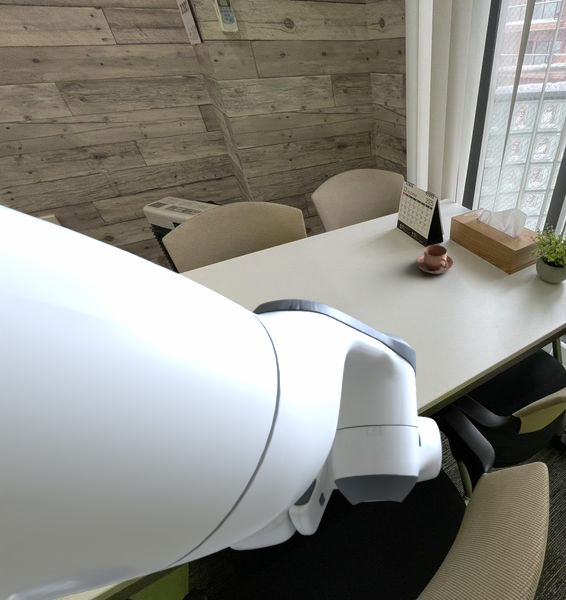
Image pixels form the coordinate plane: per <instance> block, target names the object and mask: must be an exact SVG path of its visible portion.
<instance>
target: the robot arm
mask: <svg viewBox="0 0 566 600" xmlns="http://www.w3.org/2000/svg"><path fill="white" fill-rule="evenodd" d="M416 377H417V353H416V352H415V350H414V349H413V348H412V346H411V345H409V343H407V342H406V341H405V340H404V339H402V338H401V337H399V336H397V335H395V334H392V333H388V332H387V333H386V332H381V331H378V330H377V329H375V328H373V327H371V326H369V325H368V324H366V323H364V322H362V321H360V320H358V319H357V318H354V317H353V316H351V315H349V314H347V313H345V312H343V311H340V310H339V309H337V308H334V307H332V306H329V305H327V304H324V303H321V302H319V301H315V300H310V299H305V298H304V299H302V298H283V299H276V300H271V301H267V302H263V303H261V304H259V305H258V306H257V307H256V308H255V309H253V311H251V310H249V309H247V308H245V307H243V306H241V304H238V303H237V302H234V301H232V300H231V299H229V298H227V297H225V296H223V295H222V294H220V293H218V292H216V291H214V290H212V289H210V288H209V287H206V286H205V285H202V284H200V283H198V282H196V281H194V280H192V279H190V278H188V277H187V276H184V275H182V274H179V273H177V272H176V271H173V270H170V269H168V268H166V267H163V266H161V265H159V264H157V263H155V262H152V261H149V260H148V259H145V258H144V257H141V256H138V255H136V254H133V253H131V252H129V251H126V250H125V249H124V250H123V249H121V248H119V247H116V246H114V245H111V244H108V243H105V242H103V241H101V240H98V239H96V238H93V237H90V236H88V235H85V234H83V233H80V232H78V231H75V230H72V229H70V228H67V227H64V226H62V225H59V224H56V223H53V222H51V221H47V220H44V219H41V218H38V217H35V216H33V215H29V214H27V213H24V212H22V211H18V210H17V209H16V210H15V209H13V208H10V207H7V206H4V205H3V204H2V205H1V204H0V600H57V599H60V598H61V599H62V598H65V597H70V596H74V595H77V594H82V593H86V592H90V591H94V590H97V589H102V588H104V587H108V586H112V585H115V584H120V583H122V582H126V581H130V580H134V579H138V578H141V577H145V576H148V575H151V574H154V573H159V572H161V571H164V570H167V569H171V568H173V567H178V566H180V565H184V564H186V563H189V562H193V561H195V560H198V559H201V558H203V557H206V556H209V555H212V554H214V553H217V552H219V551H222V550H224V549H227V548H229V547H230V548H231V549H232V550H236V551H246V550H247V551H248V550H255V549H262V548H267V547H270V546H275V545H280V544H283V543H284V542H286V541H288V540H289V539H290V538H291V537H292V536H293V535H294V534H295V532H296V531H297V532H298V533H299V534H301V535H303V536H311V535H313V534H315V532H317V530H318V528H319V525H320V523H321V519H322V518H323V515H324V512H325V510H326V507H327V505H328V502H329V500H330V498H331V495H332V493H333V491H334V490H338V491H339V492H340V493H341V494H342V495H343V496H344V498H345V499H346V500H347V501H348V502H349V503H350V504H351V505H352V506H356V505H358V504H360V503H368V502H381V501H382V502H384V501H385V502H387V501H391V502H398V503H402V502H403V501H404V500H405V499H406V497H407V496H408V495H409V494H410V492H411V491H412V490H413V488H414V487H415V485H416V483H419V482H424V481H428V480H432V479H435V478H437V477H438V476H439V474H440V471H441V469H442V462H443V441H442V436H441V432H440V430H439V426H438V425H437V422H436V421H435V420H434V419H432V418H430V417H425V416H424V417H423V416H419V415H418V401H417V387H416V386H417V385H416Z"/></svg>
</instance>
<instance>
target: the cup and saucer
mask: <svg viewBox="0 0 566 600" xmlns="http://www.w3.org/2000/svg"><path fill="white" fill-rule="evenodd" d="M416 265H417V267H418V268H419V269H420V270H422V271H423V272H424V273H425V272H426V273H428V274H437V275H438V274H443V273H446V272H449V270H451V269H452V268H453V267H454V261H453V259H452V257H450V256H449V255H448V250H447V248H446V247H445V246H443V245H441V244H440V245H439V244H430V245H427V246H426V247H425V248H424V249H423V254H420V255H419V256H418V257H417V259H416Z"/></svg>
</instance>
